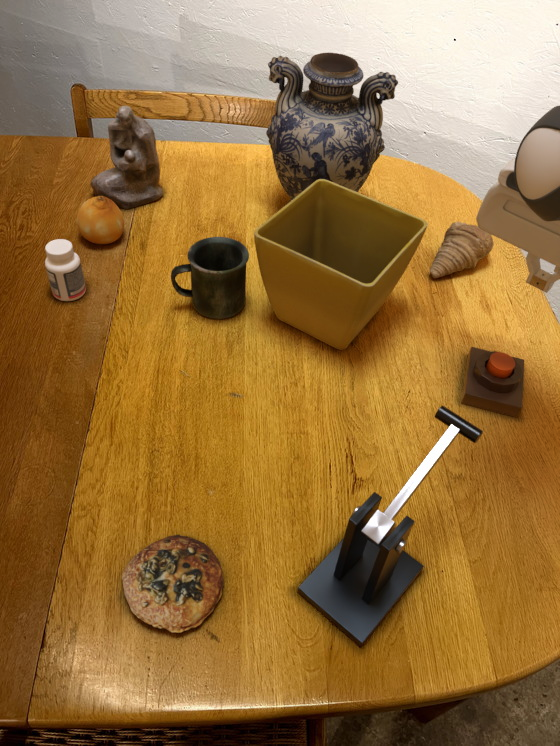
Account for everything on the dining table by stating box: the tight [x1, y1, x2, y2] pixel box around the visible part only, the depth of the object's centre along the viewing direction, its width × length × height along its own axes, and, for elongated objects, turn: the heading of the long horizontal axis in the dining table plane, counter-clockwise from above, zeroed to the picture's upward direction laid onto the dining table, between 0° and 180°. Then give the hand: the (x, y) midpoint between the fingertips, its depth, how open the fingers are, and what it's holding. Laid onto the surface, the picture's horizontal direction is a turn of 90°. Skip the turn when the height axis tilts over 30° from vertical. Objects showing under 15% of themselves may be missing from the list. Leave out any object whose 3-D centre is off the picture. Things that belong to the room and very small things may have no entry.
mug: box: [170, 236, 250, 320], centre depth 101 cm, size 9×12×10 cm
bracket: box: [296, 491, 425, 648], centre depth 70 cm, size 12×9×14 cm
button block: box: [460, 346, 525, 418], centre depth 95 cm, size 10×8×4 cm
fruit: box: [76, 196, 125, 245], centre depth 113 cm, size 8×8×8 cm
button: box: [486, 351, 515, 378], centre depth 93 cm, size 4×4×2 cm
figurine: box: [90, 105, 164, 210], centre depth 118 cm, size 13×12×18 cm
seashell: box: [429, 221, 495, 280], centre depth 113 cm, size 14×8×8 cm
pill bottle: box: [44, 238, 87, 302], centre depth 102 cm, size 5×5×9 cm
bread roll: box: [121, 534, 225, 634], centre depth 71 cm, size 11×11×5 cm
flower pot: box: [253, 179, 429, 351], centre depth 99 cm, size 19×19×17 cm
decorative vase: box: [265, 52, 399, 201], centre depth 114 cm, size 21×19×28 cm
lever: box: [361, 405, 484, 549], centre depth 67 cm, size 16×5×2 cm, turn 138°
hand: (538, 285), depth 82 cm, fingers closed
